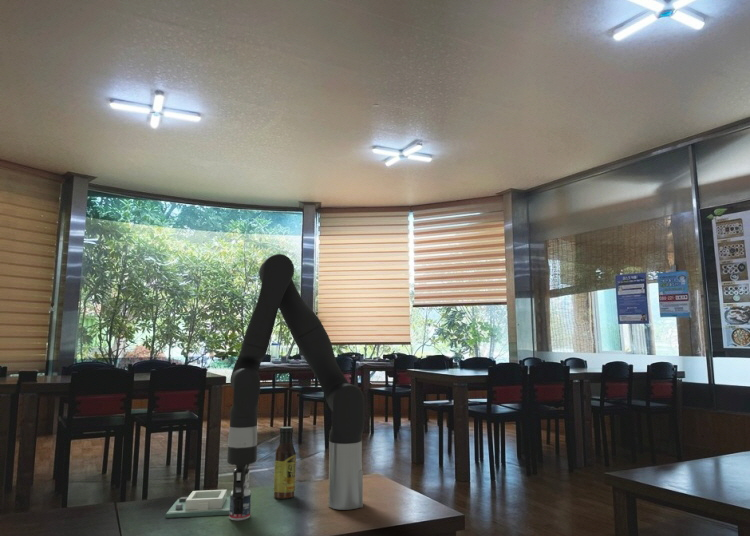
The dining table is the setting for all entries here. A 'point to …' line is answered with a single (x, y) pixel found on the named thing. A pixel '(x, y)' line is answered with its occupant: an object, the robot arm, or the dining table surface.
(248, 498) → the pill bottle
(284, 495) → the sauce bottle
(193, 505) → the board
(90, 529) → the dining table surface
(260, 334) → the robot arm
